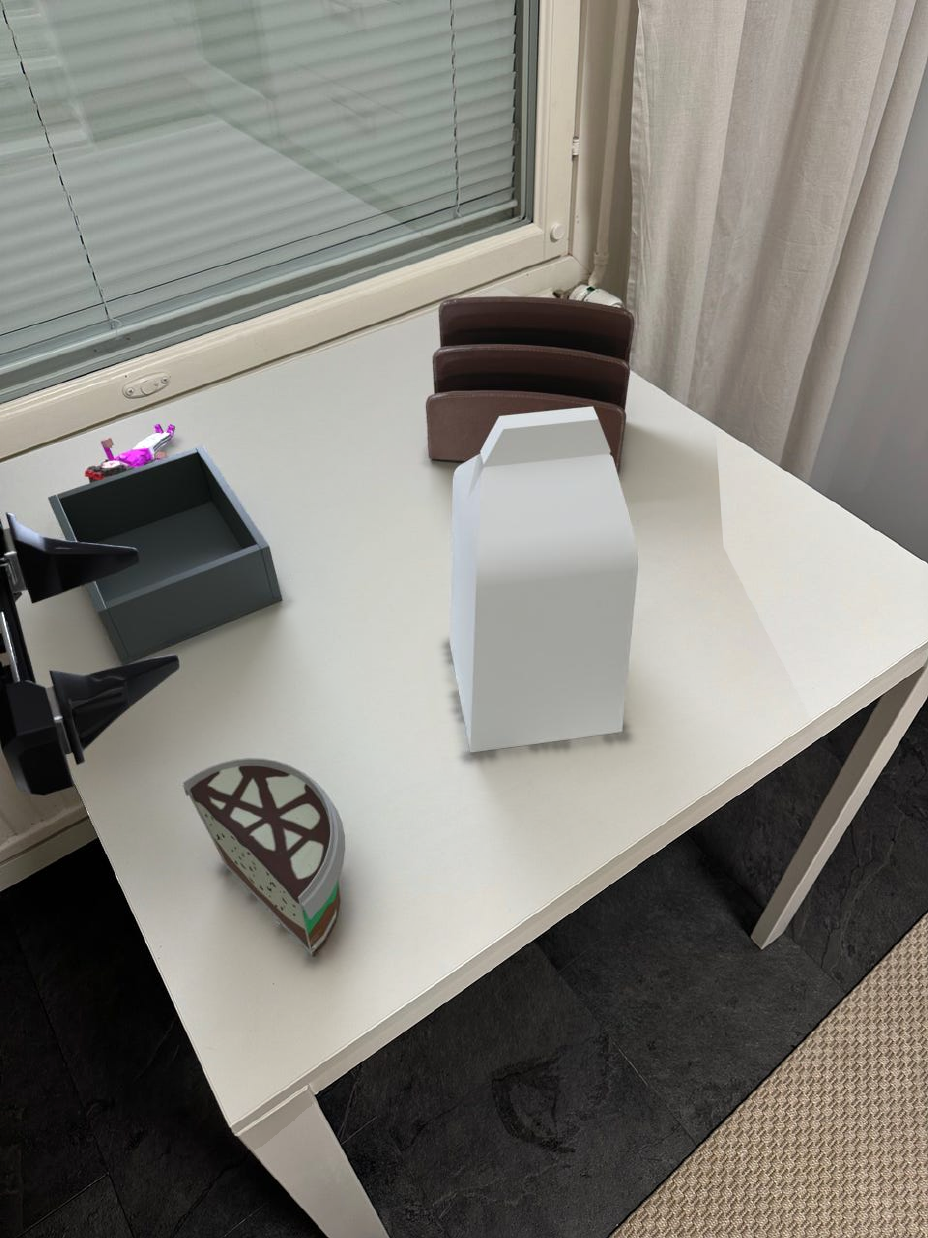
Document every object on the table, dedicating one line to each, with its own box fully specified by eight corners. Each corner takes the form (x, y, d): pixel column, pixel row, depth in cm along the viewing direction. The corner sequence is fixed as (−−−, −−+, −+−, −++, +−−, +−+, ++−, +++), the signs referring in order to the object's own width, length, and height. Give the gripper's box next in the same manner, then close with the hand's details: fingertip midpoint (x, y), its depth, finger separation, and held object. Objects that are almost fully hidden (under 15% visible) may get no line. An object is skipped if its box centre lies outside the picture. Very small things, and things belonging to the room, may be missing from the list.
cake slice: (396, 905, 60) (384, 831, 53) (328, 972, 57) (304, 904, 50) (281, 798, 66) (255, 718, 59) (213, 854, 63) (177, 777, 56)
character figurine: (148, 441, 98) (80, 497, 89) (139, 398, 95) (67, 453, 86) (194, 451, 97) (129, 510, 88) (187, 409, 93) (119, 465, 85)
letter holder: (443, 406, 100) (438, 287, 89) (621, 419, 98) (638, 298, 87) (427, 461, 93) (420, 339, 83) (618, 476, 91) (636, 352, 80)
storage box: (122, 665, 75) (96, 612, 70) (72, 550, 85) (47, 497, 80) (282, 600, 80) (269, 545, 75) (218, 498, 90) (203, 444, 85)
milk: (470, 752, 69) (464, 488, 49) (449, 641, 76) (437, 375, 57) (621, 732, 70) (674, 465, 50) (586, 624, 77) (620, 357, 58)
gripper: (-163, 729, 39) (194, 637, 45) (-194, 455, 48) (105, 411, 55) (-89, 842, 47) (204, 751, 54) (-127, 590, 57) (125, 538, 63)
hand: (157, 605), depth 56 cm, fingers open, 9 cm apart
